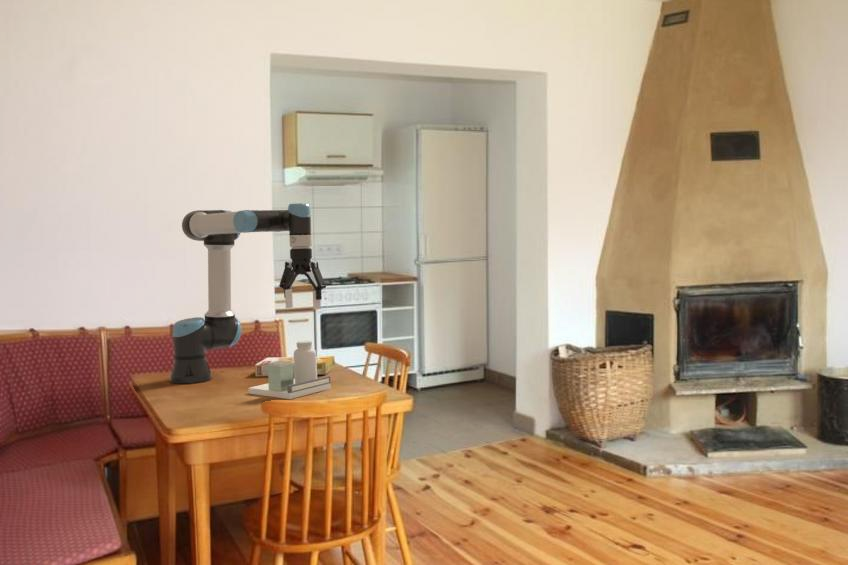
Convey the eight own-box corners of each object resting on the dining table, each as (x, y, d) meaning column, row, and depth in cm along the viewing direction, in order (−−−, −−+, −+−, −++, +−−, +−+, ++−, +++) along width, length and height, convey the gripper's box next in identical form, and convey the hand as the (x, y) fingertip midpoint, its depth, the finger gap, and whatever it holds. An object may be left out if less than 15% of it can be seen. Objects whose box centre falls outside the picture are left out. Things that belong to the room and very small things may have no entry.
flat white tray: (248, 393, 286) (248, 380, 286) (290, 383, 302) (289, 371, 302) (290, 399, 274) (289, 386, 274) (331, 388, 291) (330, 376, 290)
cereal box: (325, 361, 317) (253, 363, 319) (326, 376, 317) (254, 377, 319) (334, 354, 337) (266, 355, 339) (335, 368, 337) (267, 369, 339)
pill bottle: (291, 385, 287) (289, 343, 286) (299, 381, 295) (297, 339, 294) (313, 386, 286) (311, 343, 285) (320, 381, 294) (318, 339, 293)
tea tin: (268, 389, 282) (267, 363, 281) (281, 386, 287) (280, 360, 286) (281, 391, 278) (280, 364, 277) (294, 388, 283) (293, 361, 282)
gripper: (267, 248, 292) (270, 308, 293) (319, 248, 277) (321, 310, 279) (283, 247, 298) (285, 306, 299) (334, 247, 283) (336, 308, 285)
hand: (303, 308), depth 289 cm, fingers open, 13 cm apart
